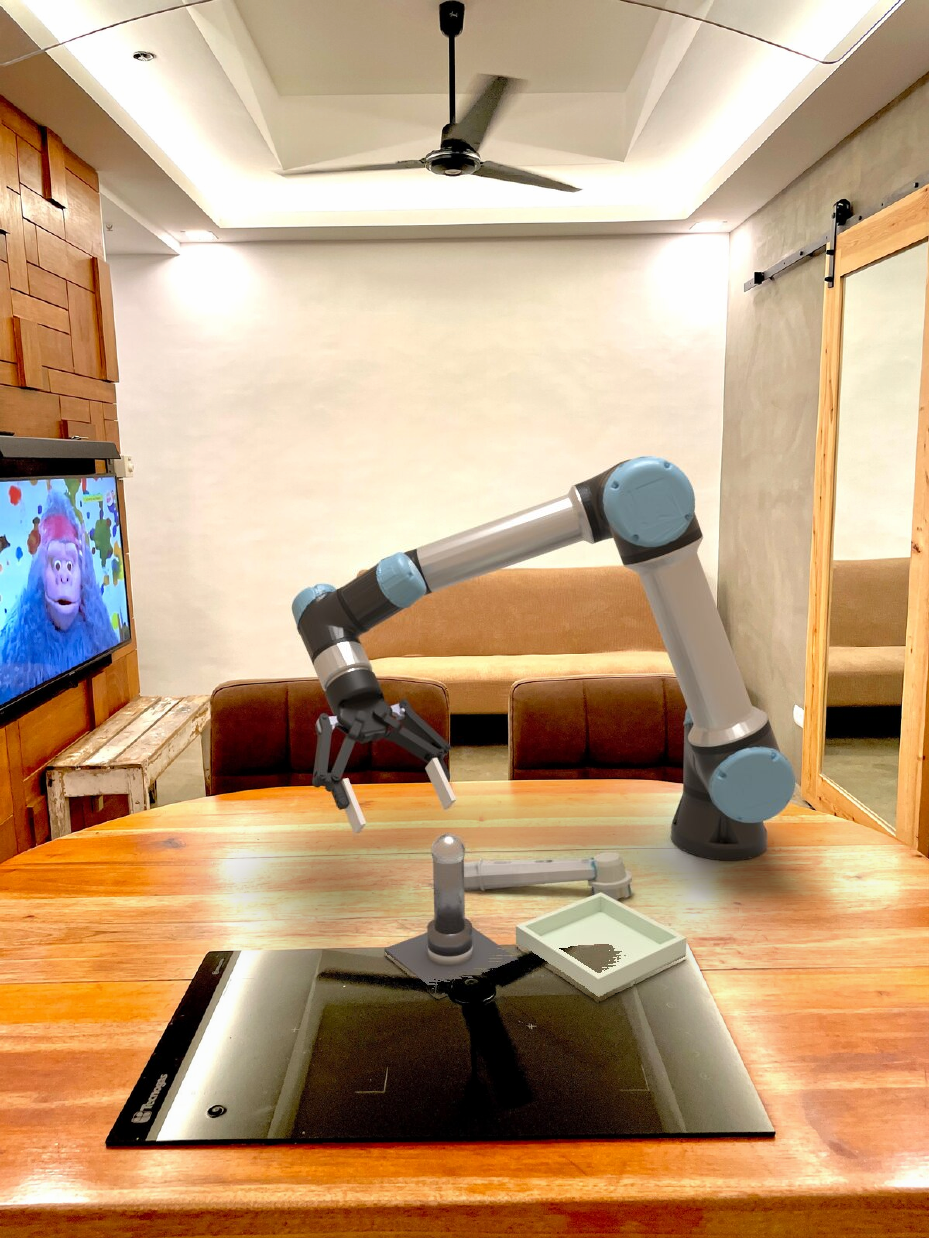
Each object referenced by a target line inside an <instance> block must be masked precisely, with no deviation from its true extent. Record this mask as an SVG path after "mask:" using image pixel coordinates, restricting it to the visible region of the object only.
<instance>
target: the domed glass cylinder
mask: <svg viewBox="0 0 929 1238" xmlns="http://www.w3.org/2000/svg"><path fill="white" fill-rule="evenodd" d="M430 852H431V856H432V868H433V869H432V874H433V875H432V877H433V879H432V880H433V917H434V919H432V920H430V921H429V922H428V924H427V926H426V929H427V932H426V933H427V936H428V948H429V950H430V951H431V952H433V953H434V954H437V955H440V956H446V957H452V956H459V955H462V954H465V953H466V952H468V951H469V950H470V949H471V948H472V945H473V939H472V927H473V924H472V922H471V921H470V920H469V919H468V918H466V917H465V916H466V908H465V907H466V906H465V905H466V901H465V893H466V892H465V890H464V862H465V856H466V846H465V843H464V840H462V838H461V837H460V836H459V835H458V834H455V833H450V832H446V833H442V834H440V835H438V836H437V837H436V838H435V839H434V840H433V842H432V844H431V849H430Z"/></svg>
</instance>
